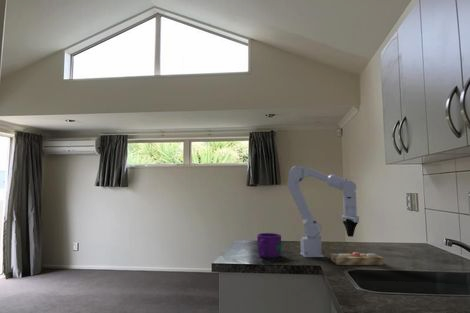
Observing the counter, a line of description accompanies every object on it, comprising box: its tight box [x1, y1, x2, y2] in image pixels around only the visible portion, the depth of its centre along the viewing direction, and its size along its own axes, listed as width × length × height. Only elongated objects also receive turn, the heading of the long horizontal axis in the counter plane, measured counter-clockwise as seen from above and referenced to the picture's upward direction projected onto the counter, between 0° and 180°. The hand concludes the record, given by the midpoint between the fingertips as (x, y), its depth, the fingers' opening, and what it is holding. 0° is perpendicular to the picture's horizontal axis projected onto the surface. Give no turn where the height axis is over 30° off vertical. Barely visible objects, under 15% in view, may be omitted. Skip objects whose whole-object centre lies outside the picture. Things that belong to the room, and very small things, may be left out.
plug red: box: [352, 251, 361, 257], centre depth 146 cm, size 3×3×3 cm
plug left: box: [337, 253, 347, 257], centre depth 146 cm, size 3×3×3 cm
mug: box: [256, 232, 282, 259], centre depth 156 cm, size 17×11×10 cm, turn 152°
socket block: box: [330, 252, 384, 266], centre depth 146 cm, size 20×8×3 cm, turn 94°
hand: (350, 236), depth 153 cm, fingers closed
